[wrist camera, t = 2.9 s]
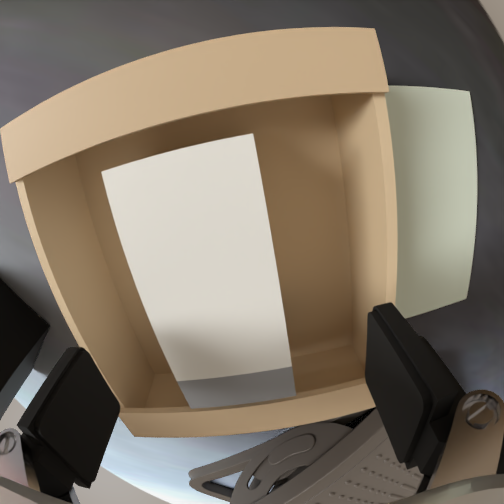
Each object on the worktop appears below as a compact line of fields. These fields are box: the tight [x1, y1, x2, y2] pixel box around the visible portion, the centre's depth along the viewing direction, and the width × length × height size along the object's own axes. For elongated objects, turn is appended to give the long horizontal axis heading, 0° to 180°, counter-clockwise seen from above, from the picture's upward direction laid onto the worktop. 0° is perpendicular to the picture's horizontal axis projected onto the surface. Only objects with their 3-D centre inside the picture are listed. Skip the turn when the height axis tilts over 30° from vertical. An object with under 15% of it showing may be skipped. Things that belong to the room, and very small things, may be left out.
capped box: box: [101, 134, 296, 409], centre depth 13 cm, size 11×5×6 cm, turn 10°
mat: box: [384, 86, 477, 319], centre depth 16 cm, size 15×9×1 cm, turn 10°
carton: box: [0, 27, 398, 437], centre depth 14 cm, size 18×15×6 cm
